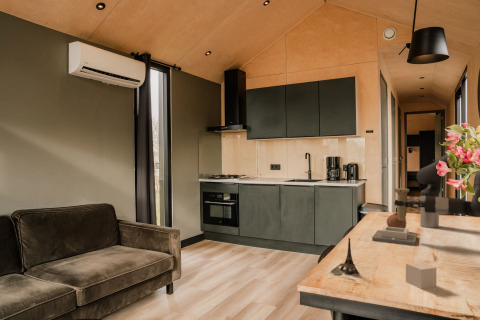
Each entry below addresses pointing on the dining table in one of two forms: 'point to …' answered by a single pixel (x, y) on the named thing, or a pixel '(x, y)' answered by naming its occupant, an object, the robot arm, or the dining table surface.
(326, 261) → the dining table surface
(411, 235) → the square socket base
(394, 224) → the onion
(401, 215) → the handle
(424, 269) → the beige cube
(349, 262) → the eiffel tower figurine
